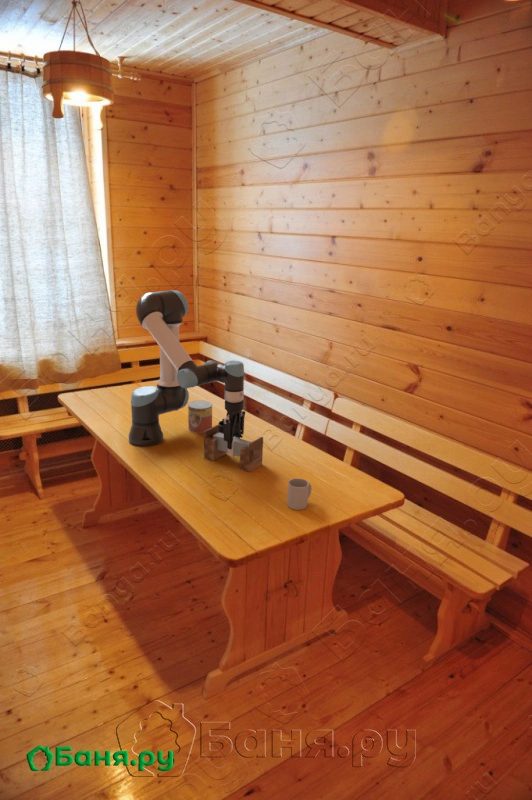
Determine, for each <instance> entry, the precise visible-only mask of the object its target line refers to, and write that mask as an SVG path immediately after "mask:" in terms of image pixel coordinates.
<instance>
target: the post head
mask: <svg viewBox="0 0 532 800" xmlns="http://www.w3.org/2000/svg"><path fill="white" fill-rule="evenodd" d="M216 433H221V432H218V424H216V425H214V426H212V428H210V429H208V430H206V431H204V433H203V459H207V460H209V461H210V460H211V461H212V462H214V461H216V460H218V459H219V458H221V457H223V456H225V455H226V454H227V452H223V451H220V450H217V439H214V438H213V435H214V434H216ZM221 434H224V433H221Z"/></svg>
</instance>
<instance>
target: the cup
mask: <svg viewBox="0 0 532 800" xmlns="http://www.w3.org/2000/svg"><path fill="white" fill-rule="evenodd" d="M287 483H288V484H287V496H286V497H287V498H286V499H287V501H286V503H287V504H286V505H287V507H288V508H289V509H291V510H293V509H295V510H294V511H301V510H300V509H303V510H305V509H306V508H307V507H308V500H309V498H310V496H311V493H312V485H311V483H310V482H309V481H308V480H306V479H304V478H297V477H296V478H291V479H289V480H288V481H287ZM304 508H305V509H304Z"/></svg>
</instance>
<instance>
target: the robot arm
mask: <svg viewBox="0 0 532 800" xmlns="http://www.w3.org/2000/svg"><path fill="white" fill-rule="evenodd" d="M188 312H189V302H188V301H187V298H186V297H185V295H184V294H183V292H180V291H178V290H176V289H175V290H169V289H168V290H162V291H161V290H160V291H149V292H145V294H142V295H141V296H140V297H139V299H138V300H137V302H136V305H135V314H136V318H137V320H138V322H139V324H140V325H141V327H142V328H143V330H147V331H148V332H149V334H150V335H151V336H152V338H153V339H154V340H155V342H156V343H157V345H158V346H159V374H160V375H159V376H160V377H159V379H158V380H157V382H156V386H154V385H147V386H145V385H144V386H141V387H137V388H136V389H134V390H133V391H132V393H131V394H130V396H131V397H130V407H131V427H130V430H129V433H128V442H129V444H131V445H133V446H138V447H152V446H155V445H159V444H160V443H162V442H164V432H163V431H162V427H161V425H160V415H163V414H167V413H171V412H174V411H175V412H176V411H178V410H181V409H183V408H185V407H186V406H187V405H188V403H189V399H190V394H189V390H188V389H189V388H195V387H197V386H198V387H199V386H201V385H202V386H203V385H207V384H210V383H215V382H219V383H221V384H224V399H225V400H224V409H225V411H226V417H225V418H222V419H221V421H222V422H223V432H224V441H227V448H228V453H227V456H228V457H234V456H235V455H234V441H233V435H234V432H235V436H236V438H240V439H243V438H244V437H243V435H244V433H245V432H244V431H245V416H246V410H244V406H245V405H244V404H245V403H244V399H245V397H244V393H245V392H244V391H245V390H244V389H245V388H244V387H245V364H244V363H243V362H242V361H240V360H228V361H226V362H225V363H223V362H219V361H218V360H211V359H210V360H206V362H204V363H203V364H202V365H197V364H196V362H195V361H194V360H193V359H192V357H191V356H190V355H189V353H188V352H187V350H186V349H185V348H184V346H183V345H182V343H181V342H180V326H181V325H182V324H183V323H184V322H183V320H184V319H183V318H184V317H185V316H186V315H188V314H187V313H188Z"/></svg>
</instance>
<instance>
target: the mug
mask: <svg viewBox="0 0 532 800" xmlns="http://www.w3.org/2000/svg"><path fill="white" fill-rule="evenodd" d="M217 425H218V432H221V433H224V432H223V422H222V420H220V421H219V422H218V424H217ZM233 437H236V436H235V432H234V435H233Z"/></svg>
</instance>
